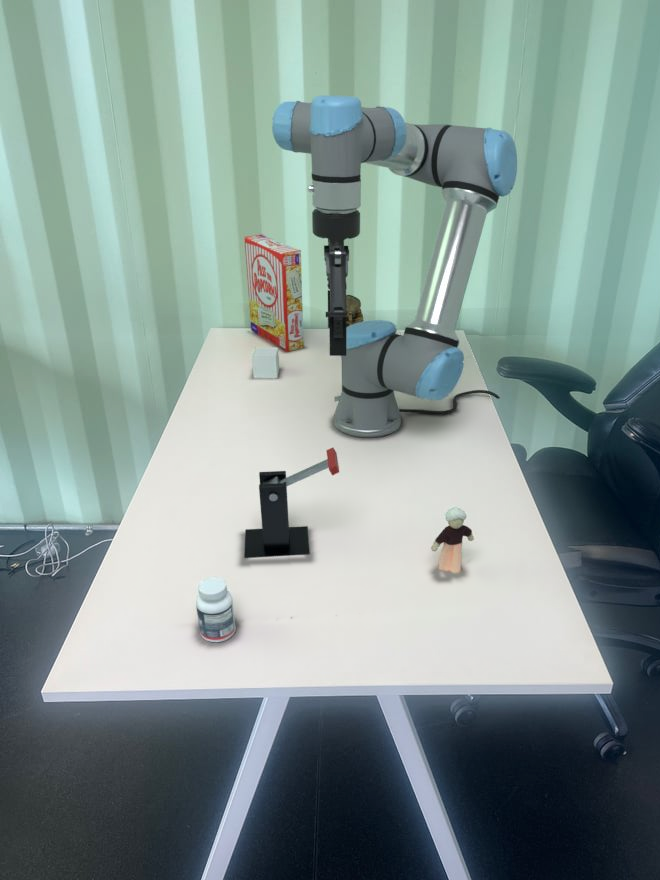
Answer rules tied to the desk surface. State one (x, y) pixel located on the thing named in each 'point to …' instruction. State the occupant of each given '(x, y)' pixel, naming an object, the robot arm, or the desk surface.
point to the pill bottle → (215, 610)
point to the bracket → (275, 524)
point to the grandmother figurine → (452, 540)
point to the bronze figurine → (353, 310)
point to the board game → (275, 291)
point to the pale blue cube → (265, 362)
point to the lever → (311, 470)
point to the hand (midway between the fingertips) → (336, 340)
